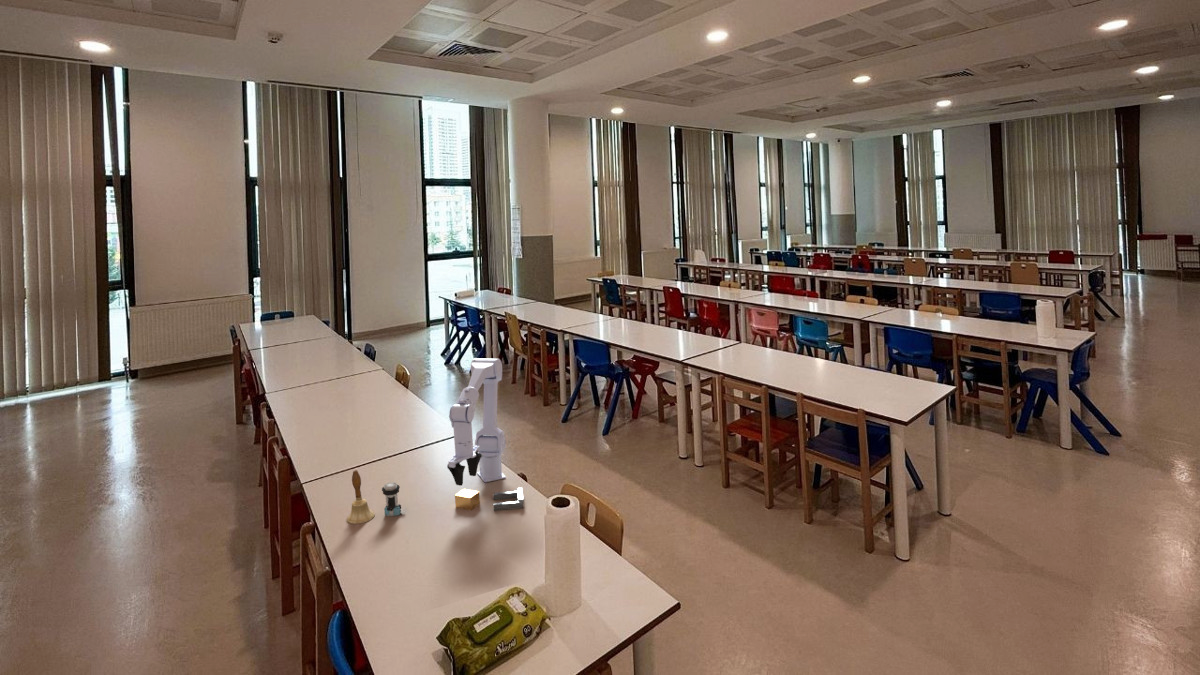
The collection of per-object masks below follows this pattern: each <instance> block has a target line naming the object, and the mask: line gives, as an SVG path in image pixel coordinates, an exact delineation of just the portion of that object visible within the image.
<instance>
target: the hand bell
mask: <svg viewBox="0 0 1200 675" xmlns="http://www.w3.org/2000/svg"><path fill="white" fill-rule="evenodd" d="M351 482H352V486H353V488H354V492H355V494H354V495H355V500H354V501H352V502H351V510H350V513H349V515H348V516H347V518H346V522H348V524H351V525H361V524H364V523H367V522H369V521H371V520H373V519H374V517H375V513H374V511H373V510H371V509H370V508H369V505H368V501H367V499H365V498H363V497H362V493H361V492H362V491H361V486H362V478H361V475H360V473H359V472H358V470H357V469H356V470H355V469H354V470H353V471H352V475H351Z"/></svg>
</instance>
